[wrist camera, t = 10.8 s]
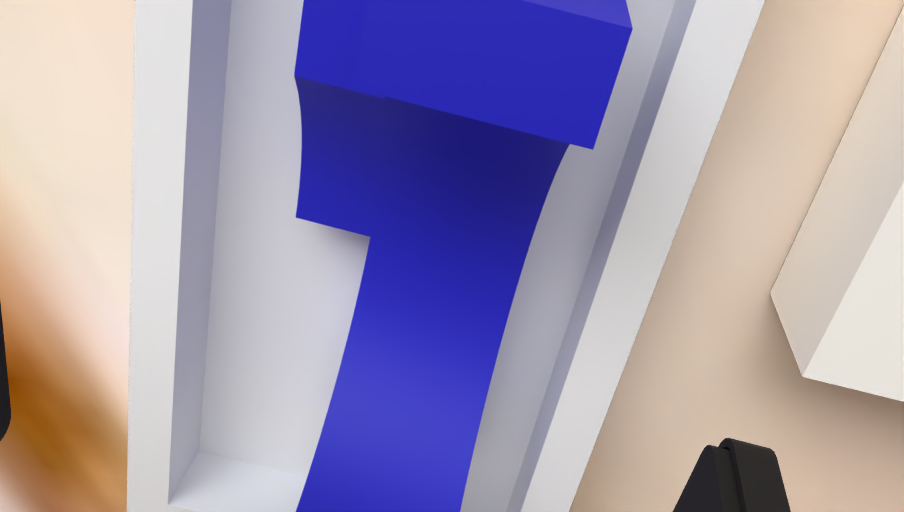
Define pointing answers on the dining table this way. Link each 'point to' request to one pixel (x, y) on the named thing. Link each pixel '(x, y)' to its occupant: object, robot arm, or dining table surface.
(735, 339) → the dining table surface
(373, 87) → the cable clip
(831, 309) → the power strip
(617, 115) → the cable tray
